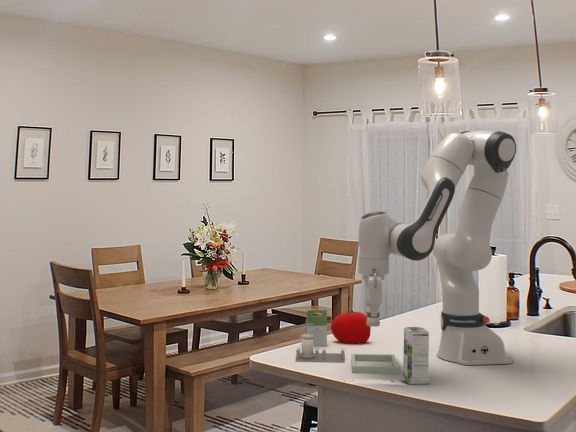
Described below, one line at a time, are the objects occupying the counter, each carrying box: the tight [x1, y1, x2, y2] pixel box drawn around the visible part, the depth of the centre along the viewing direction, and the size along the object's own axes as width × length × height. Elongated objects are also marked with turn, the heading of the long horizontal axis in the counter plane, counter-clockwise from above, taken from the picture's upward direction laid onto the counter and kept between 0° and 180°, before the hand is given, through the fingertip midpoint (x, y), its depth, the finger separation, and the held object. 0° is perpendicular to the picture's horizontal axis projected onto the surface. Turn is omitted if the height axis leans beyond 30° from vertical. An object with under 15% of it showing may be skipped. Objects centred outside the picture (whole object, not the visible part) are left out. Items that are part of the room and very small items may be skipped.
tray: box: [350, 353, 399, 375], centre depth 168 cm, size 13×13×3 cm
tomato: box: [330, 309, 372, 345], centre depth 198 cm, size 12×14×11 cm
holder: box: [294, 332, 346, 364], centre depth 177 cm, size 15×10×8 cm, turn 84°
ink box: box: [305, 309, 328, 348], centre depth 192 cm, size 7×4×13 cm, turn 92°
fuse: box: [366, 300, 381, 328], centre depth 167 cm, size 4×4×7 cm
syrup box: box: [402, 326, 430, 385], centre depth 157 cm, size 6×6×14 cm
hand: (373, 314), depth 167 cm, fingers closed on fuse, 4 cm apart
